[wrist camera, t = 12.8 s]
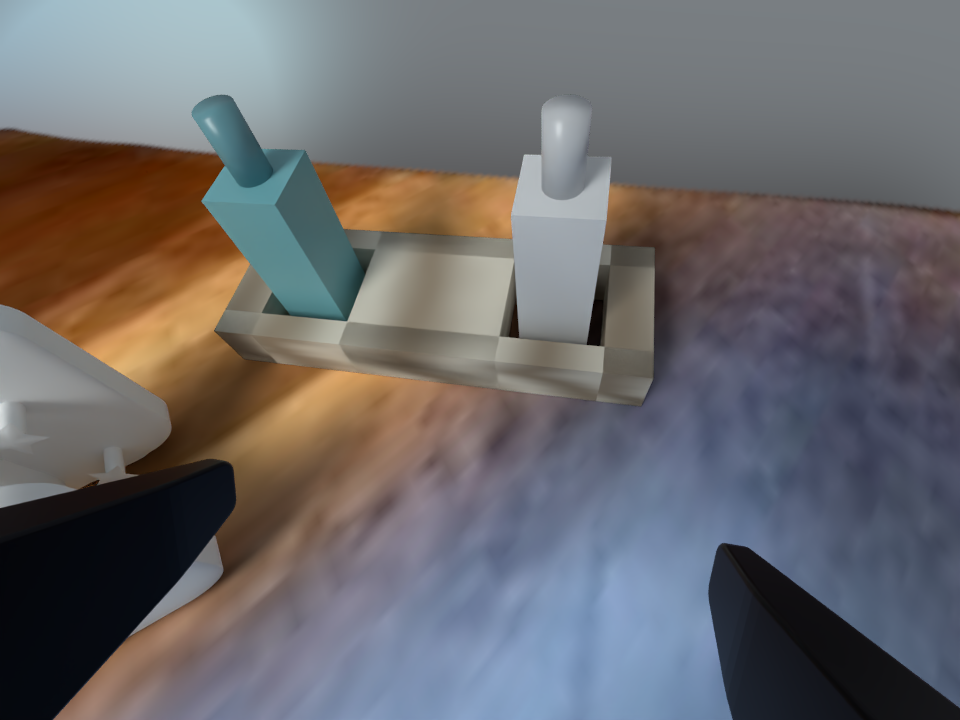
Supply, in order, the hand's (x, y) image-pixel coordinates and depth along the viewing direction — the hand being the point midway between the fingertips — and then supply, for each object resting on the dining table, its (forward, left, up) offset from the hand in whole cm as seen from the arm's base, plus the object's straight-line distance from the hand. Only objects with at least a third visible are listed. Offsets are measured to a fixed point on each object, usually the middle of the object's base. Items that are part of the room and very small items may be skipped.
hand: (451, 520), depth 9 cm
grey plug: (+13, -4, -14) cm, 19 cm away
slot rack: (+14, +2, -14) cm, 20 cm away
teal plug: (+16, +8, -14) cm, 22 cm away
